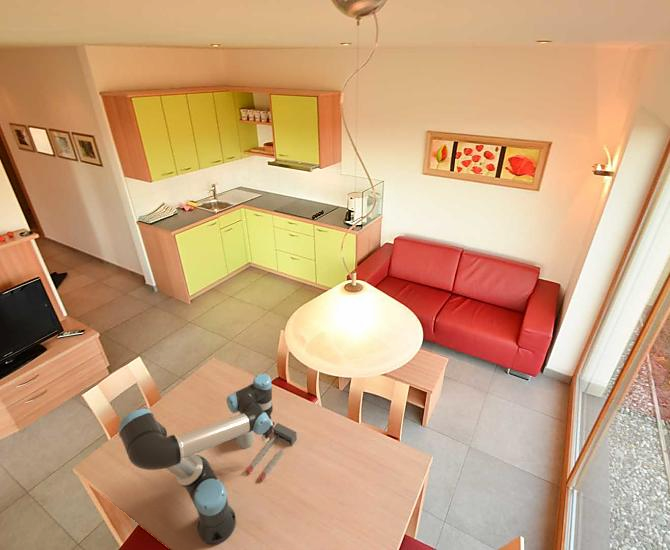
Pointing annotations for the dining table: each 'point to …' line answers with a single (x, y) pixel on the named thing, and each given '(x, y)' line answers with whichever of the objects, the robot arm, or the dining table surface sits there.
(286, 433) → the grey rectangular block
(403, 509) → the dining table surface
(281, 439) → the base
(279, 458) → the red-tipped stick
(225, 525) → the robot arm
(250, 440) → the mug
